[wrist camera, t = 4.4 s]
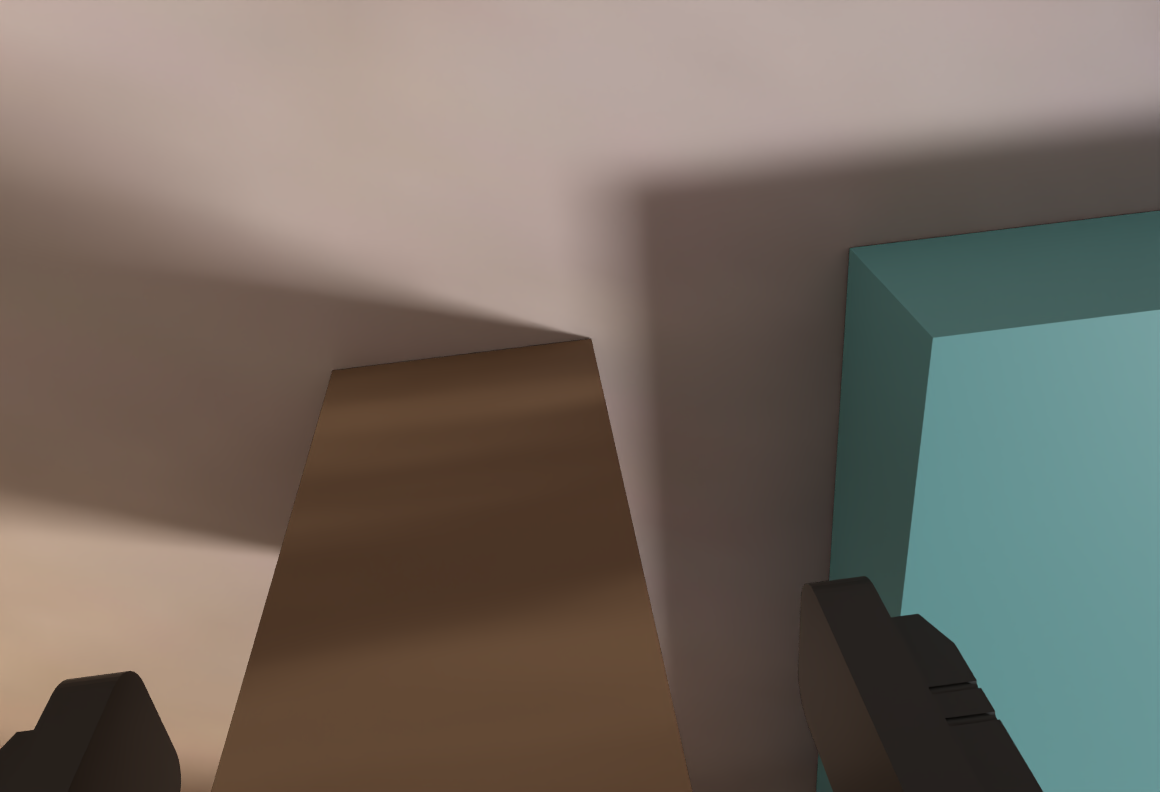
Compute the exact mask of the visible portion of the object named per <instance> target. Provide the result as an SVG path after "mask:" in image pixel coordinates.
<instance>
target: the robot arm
mask: <svg viewBox="0 0 1160 792" xmlns="http://www.w3.org/2000/svg"><path fill="white" fill-rule="evenodd" d="M798 680H799V689H800V695H801V701H802V705H803V709H804V713H805V717H806V720H807V723H808V726H809V729H810V731H811V734H812V737H813V739H814V742H815V745H816V748H817V750H818V753H819V756H820V758H821V761H822V764H823V766H824V769H825V772H826V774H827V777H828V780H829V782H830V785H831V788H832V790H833V792H1043V790H1042V789H1041V787H1040V785H1039V784H1038V782H1037V780H1036V779H1035V777H1034V775H1033V774H1032V772H1031V770H1030V769H1029V767H1028V765H1027V764H1026V762H1025V760H1024V759H1023V757H1022V755H1021V754H1020V752H1019V750H1018V749H1017V747H1016V745H1015V743H1014V742H1013V740H1012V738H1011V737H1010V735H1009V733H1008V732H1007V730H1006V728H1005V727H1004V725H1003V723H1002V722H1001V720H1000V719H999V720H998V719H997V718H996V715H995V710H994V708H993V707H992V705H991V703H990V702H989V700H988V698H987V697H986V695H985V693H984V692H983V690H982V688H978V685H977V680H976V678H975V677H974V675H973V673H972V671H971V670H970V668H969V666H968V665H967V663H966V661H965V660H964V658H963V656H962V655H961V653H960V651H959V650H958V648H957V646H956V645H955V643H954V642H952V641H951V640H950V639H949V638H948V637H946V636H945V635H944V634H943V633H941V632H940V631H939V630H938V629H937V628H935V627H934V626H933V625H932V624H930V623H929V622H928V621H927V620H926V619H924V618H923V617H922V616H921V615H919V614H912V615H905V616H897V617H890V615H889V613H888V611H887V609H886V607H885V605H884V603H883V602H882V600H881V598H880V596H879V594H878V592H877V590H876V588H875V587H874V585H873V583H872V582H871V581H870V579H869V578H867V577H866V576H860V577H852V578H845V579H837V580H830V581H822V582H815V583H807V584H804V586H803V588H802V592H801V611H800V635H799V659H798ZM180 791H181V772H180V764H179V759H178V756H177V753H176V751H175V748H174V746H173V744H172V742H171V740H170V738H169V736H168V734H167V731H166V729H165V727H164V725H163V723H162V721H161V719H160V717H159V715H158V712H157V710H156V708H155V706H154V704H153V702H152V700H151V698H150V696H149V693H148V691H147V689H146V687H145V685H144V683H143V681H142V679H141V678H140V677H139V675H138V674H136V673H135V672H132V671H127V672H119V673H112V674H104V675H97V676H89V677H82V678H74V679H67V680H65V681H63V682H61V683H60V684H59V685H58V686H57V687H56V689H55V690H54V692H53V693H52V695H51V697H50V699H49V701H48V703H47V705H46V707H45V709H44V711H43V713H42V715H41V717H40V719H39V721H38V723H37V725H36V727H35V729H34V730H30V731H22V732H16V733H15V735H14V736H13V737H12V738H11V739H10V740H9V741H8V742H7V743H6V744H5V745H4V746H3V747H2V748H1V749H0V792H180Z"/></svg>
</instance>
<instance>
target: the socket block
mask: <svg viewBox="0 0 1160 792" xmlns="http://www.w3.org/2000/svg"><path fill="white" fill-rule="evenodd" d="M860 576H866V577H867V578H869V579H870V581H871V582H872V583H873V585H874V587H875V588H876V590H877V592H878V594H879V596H880V598H881V600H882V602H883V603H884V605H885V607H886V609H887V611H888V613H889V615H890V617H897V616H905V615H912V614H919V615H921V616H922V617H923V618H924V619H926V620H927V621H928V622H929V623H930V624H932V625H933V626H934V627H935V628H937V629H938V630H939V631H940V632H941V633H943V634H944V635H945V636H946V637H948V638H949V639H950V640H951V641H952V642H954V643H955V645H956V646H957V648H958V650H959V651H960V653H961V655H962V656H963V658H964V660H965V661H966V663H967V665H968V666H969V668H970V670H971V671H972V673H973V675H974V677H975V678H976V680H977V685H978V688H982V690H983V692H984V693H985V695H986V697H987V698H988V700H989V702H990V703H991V705H992V707H993V708H994V710H995V715H996V718H997V719H998V720H999V719H1000V720H1001V722H1002V723H1003V725H1004V727H1005V728H1006V730H1007V732H1008V733H1009V735H1010V737H1011V738H1012V740H1013V742H1014V743H1015V745H1016V747H1017V749H1018V750H1019V752H1020V754H1021V755H1022V757H1023V759H1024V760H1025V762H1026V764H1027V765H1028V767H1029V769H1030V770H1031V772H1032V774H1033V775H1034V777H1035V779H1036V780H1037V782H1038V784H1039V785H1040V787H1041V789H1042V790H1043V792H1160V211H1152V212H1144V213H1135V214H1127V215H1119V216H1111V217H1102V218H1094V219H1086V220H1077V221H1069V222H1061V223H1053V224H1044V225H1036V226H1028V227H1020V228H1011V229H1003V230H995V231H987V232H978V233H970V234H962V235H953V236H945V237H937V238H929V239H920V240H912V241H904V242H896V243H887V244H879V245H871V246H863V247H854V248H850V251H849V268H848V284H847V300H846V316H845V332H844V349H843V365H842V381H841V397H840V413H839V429H838V446H837V462H836V478H835V494H834V510H833V527H832V543H831V559H830V575H829V581H830V580H837V579H845V578H852V577H860ZM816 792H833V790H832V788H831V785H830V782H829V780H828V777H827V774H826V772H825V769H824V766H823V764H822V761H821V758H820V756H819V753H818V769H817V785H816Z"/></svg>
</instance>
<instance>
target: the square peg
mask: <svg viewBox="0 0 1160 792" xmlns="http://www.w3.org/2000/svg"><path fill="white" fill-rule="evenodd" d="M211 792H692V787H691V783H690V778H689V774H688V769H687V765H686V760H685V756H684V752H683V747H682V743H681V738H680V734H679V729H678V725H677V720H676V716H675V711H674V707H673V702H672V698H671V693H670V689H669V684H668V680H667V675H666V671H665V667H664V662H663V658H662V653H661V649H660V644H659V640H658V635H657V631H656V626H655V622H654V617H653V613H652V608H651V604H650V599H649V595H648V590H647V586H646V581H645V577H644V573H643V568H642V564H641V559H640V555H639V550H638V546H637V541H636V537H635V532H634V528H633V523H632V519H631V514H630V510H629V505H628V501H627V496H626V492H625V488H624V483H623V479H622V474H621V470H620V465H619V461H618V456H617V452H616V447H615V443H614V438H613V434H612V429H611V425H610V420H609V416H608V411H607V407H606V402H605V398H604V394H603V389H602V385H601V380H600V376H599V371H598V367H597V362H596V358H595V353H594V349H593V344H592V340H591V339H585V340H577V341H569V342H561V343H553V344H544V345H536V346H528V347H520V348H512V349H504V350H496V351H487V352H479V353H471V354H463V355H455V356H447V357H439V358H431V359H422V360H414V361H406V362H398V363H390V364H382V365H374V366H365V367H357V368H349V369H341V370H333V371H332V374H331V378H330V381H329V384H328V388H327V391H326V395H325V398H324V402H323V405H322V409H321V412H320V416H319V419H318V423H317V426H316V430H315V433H314V436H313V440H312V443H311V447H310V450H309V454H308V457H307V461H306V464H305V468H304V471H303V475H302V478H301V482H300V485H299V488H298V492H297V495H296V499H295V502H294V506H293V509H292V513H291V516H290V520H289V523H288V527H287V530H286V534H285V537H284V540H283V544H282V547H281V551H280V554H279V558H278V561H277V565H276V568H275V572H274V575H273V579H272V582H271V586H270V589H269V592H268V596H267V599H266V603H265V606H264V610H263V613H262V617H261V620H260V624H259V627H258V631H257V634H256V638H255V641H254V644H253V648H252V651H251V655H250V658H249V662H248V665H247V669H246V672H245V676H244V679H243V683H242V686H241V690H240V693H239V696H238V700H237V703H236V707H235V710H234V714H233V717H232V721H231V724H230V728H229V731H228V735H227V738H226V742H225V745H224V748H223V752H222V755H221V759H220V762H219V766H218V769H217V773H216V776H215V780H214V783H213V787H212V790H211Z"/></svg>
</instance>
